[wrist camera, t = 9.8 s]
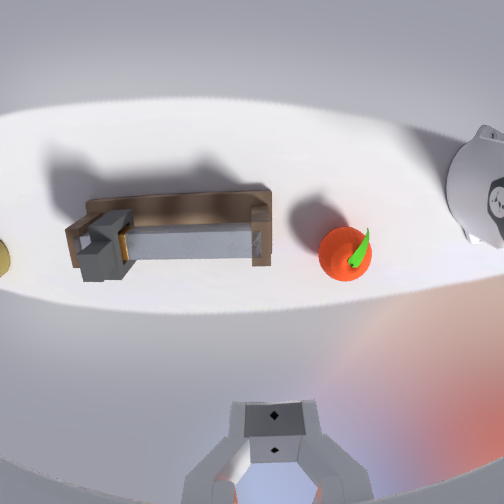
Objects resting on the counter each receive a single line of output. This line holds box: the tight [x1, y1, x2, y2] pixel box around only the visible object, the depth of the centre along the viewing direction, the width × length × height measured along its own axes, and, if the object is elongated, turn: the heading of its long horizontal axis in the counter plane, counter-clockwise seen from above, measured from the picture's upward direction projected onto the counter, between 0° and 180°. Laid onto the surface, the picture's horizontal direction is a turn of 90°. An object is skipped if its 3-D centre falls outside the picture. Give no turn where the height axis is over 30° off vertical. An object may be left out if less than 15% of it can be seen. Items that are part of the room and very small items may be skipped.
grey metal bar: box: [73, 223, 261, 260], centre depth 36 cm, size 22×3×3 cm, turn 91°
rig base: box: [65, 191, 272, 268], centre depth 38 cm, size 25×8×8 cm, turn 91°
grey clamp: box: [77, 209, 136, 282], centre depth 34 cm, size 3×6×10 cm, turn 1°
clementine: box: [318, 227, 372, 281], centre depth 40 cm, size 8×7×7 cm
